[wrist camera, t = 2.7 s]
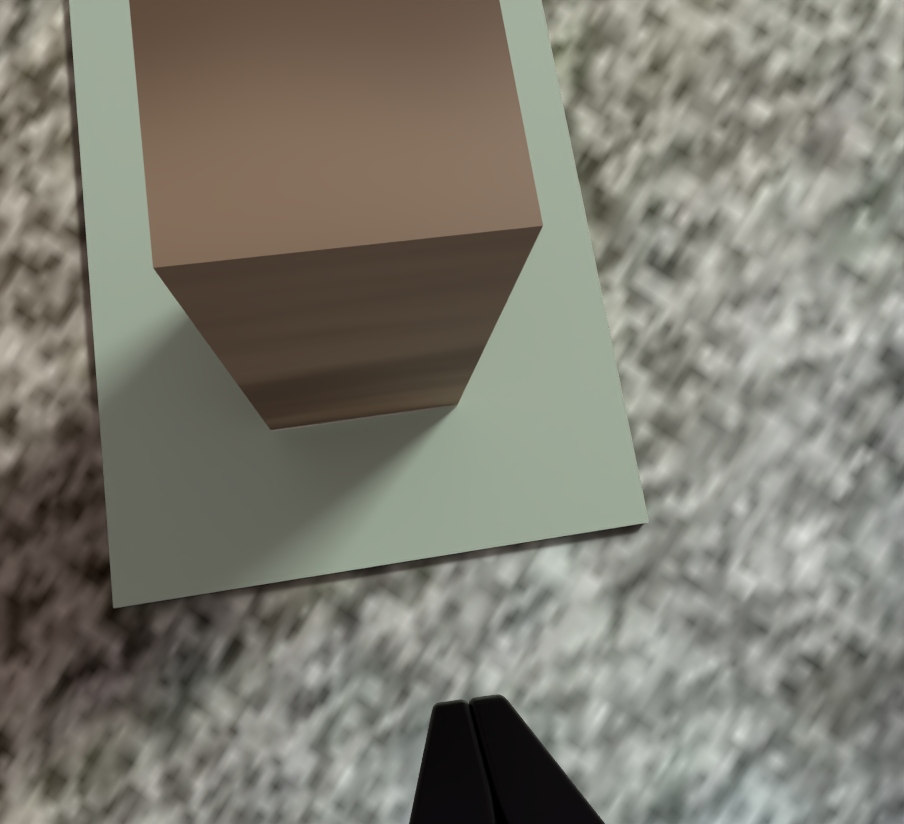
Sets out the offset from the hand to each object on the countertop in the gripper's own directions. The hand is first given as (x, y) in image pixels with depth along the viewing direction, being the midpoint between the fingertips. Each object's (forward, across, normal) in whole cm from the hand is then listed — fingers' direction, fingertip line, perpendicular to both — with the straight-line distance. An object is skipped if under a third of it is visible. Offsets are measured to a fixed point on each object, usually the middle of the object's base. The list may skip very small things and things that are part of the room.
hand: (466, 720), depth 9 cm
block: (+14, +1, +1) cm, 14 cm away
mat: (+16, +1, -1) cm, 16 cm away
